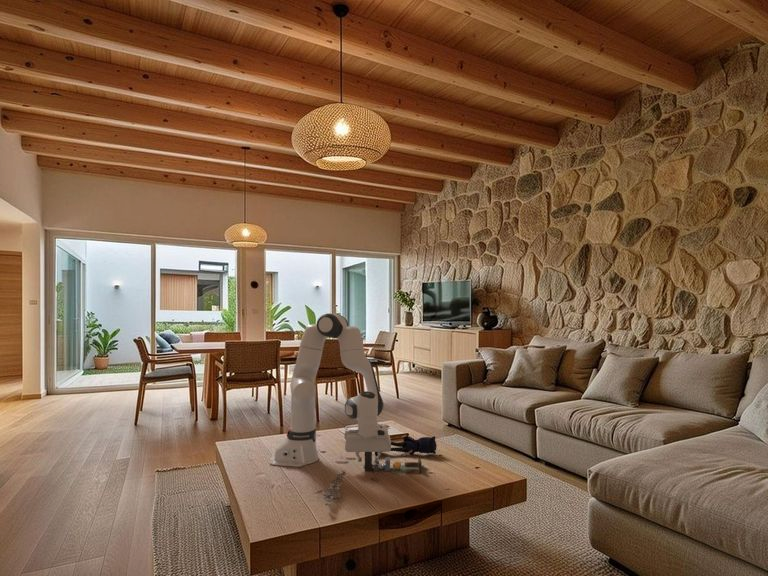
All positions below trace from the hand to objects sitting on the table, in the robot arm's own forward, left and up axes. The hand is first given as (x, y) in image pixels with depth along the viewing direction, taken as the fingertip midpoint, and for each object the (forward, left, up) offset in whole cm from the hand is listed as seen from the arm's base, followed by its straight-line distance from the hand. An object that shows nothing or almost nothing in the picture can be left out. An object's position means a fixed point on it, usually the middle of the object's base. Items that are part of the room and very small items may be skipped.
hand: (368, 461), depth 200 cm
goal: (+19, 0, -4) cm, 19 cm away
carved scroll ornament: (-11, -27, -4) cm, 29 cm away
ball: (+13, 0, -2) cm, 13 cm away
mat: (+18, 0, -4) cm, 18 cm away
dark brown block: (+4, 0, -4) cm, 5 cm away
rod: (+4, 0, -4) cm, 5 cm away
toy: (+17, +19, -4) cm, 25 cm away
